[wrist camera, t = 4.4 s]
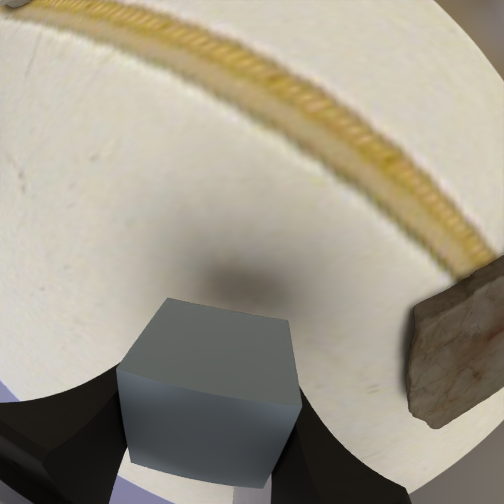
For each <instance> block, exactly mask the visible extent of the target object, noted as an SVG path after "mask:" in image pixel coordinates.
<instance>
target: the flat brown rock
mask: <svg viewBox="0 0 504 504" xmlns="http://www.w3.org/2000/svg"><path fill="white" fill-rule="evenodd" d="M414 317H415V335H414V338H413V341H412V343H411V345H410V356H409V370H408V372H407V373H406V387H407V399H408V409H409V412H410V413H412V415H413V417H415V418H418V419H421V420H424V421H425V422H426V423H427V425H429V426H430V428H432V429H440V428H441V427H443V426H444V425H446V424H448V423H449V422H451V421H452V420H454V419H456V418H457V417H459V416H460V415H462V414H463V413H465V412H467V411H468V410H470V409H471V408H473V407H474V406H476V405H477V404H479V403H480V402H482V401H484V400H486V399H487V398H489V397H490V396H491V395H493V394H494V393H496V392H498V391H499V390H500V389H501V388H503V387H504V256H502V257H500V258H498V259H497V260H495V261H494V262H492V263H491V264H489V265H487V266H485V267H483V268H481V269H479V270H478V271H475V272H474V273H473V274H472V275H471V276H470V277H469V278H467V279H465V280H464V281H462V282H461V283H458V284H456V285H454V286H453V287H451V288H449V289H447V290H446V291H444V292H441V293H439V294H437V295H435V296H433V297H431V298H429V299H426V300H424V301H422V302H421V303H419V304H417V305H416V306H415V307H414Z"/></svg>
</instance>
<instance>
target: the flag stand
mask: <svg viewBox="0 0 504 504" xmlns="http://www.w3.org/2000/svg"><path fill="white" fill-rule="evenodd" d="M29 1H31V0H0V6H2V5H4V4H6V5H8V6H10V7H13V8H16V7H20V6H22V5H24V4H26V3H28V2H29Z"/></svg>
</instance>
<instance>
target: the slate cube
mask: <svg viewBox="0 0 504 504" xmlns="http://www.w3.org/2000/svg"><path fill="white" fill-rule="evenodd" d="M116 372H117V382H118V390H119V398H120V405H121V412H122V418H123V424H124V430H125V435H126V441H127V446H128V450H129V455H130V459H131V463H134V464H138V465H141V466H144V467H147V468H151V469H154V470H158V471H161V472H165V473H169V474H173V475H177V476H181V477H185V478H190V479H195V480H200V481H205V482H211V483H217V484H223V485H230V486H238V487H247V488H258V489H263V488H264V486H265V484H266V482H267V480H268V478H269V476H270V474H271V472H272V471H273V469H274V467H275V465H276V463H277V461H278V459H279V457H280V454H281V452H282V450H283V448H284V446H285V444H286V442H287V440H288V438H289V435H290V433H291V431H292V429H293V427H294V424H295V422H296V420H297V418H298V415H299V413H300V411H301V408H302V401H301V395H300V389H299V383H298V377H297V371H296V365H295V359H294V353H293V347H292V341H291V335H290V330H289V324H288V321H287V320H280V319H274V318H268V317H262V316H257V315H251V314H245V313H240V312H234V311H229V310H224V309H219V308H214V307H209V306H204V305H199V304H194V303H189V302H185V301H180V300H175V299H171V298H167V299H166V300H165V302H164V303H163V304H162V306H161V307H160V309H159V310H158V311H157V313H156V314H155V315H154V317H153V318H152V319H151V321H150V322H149V323H148V325H147V326H146V328H145V329H144V330H143V332H142V333H141V334H140V336H139V337H138V339H137V340H136V341H135V343H134V344H133V346H132V347H131V348H130V350H129V351H128V353H127V354H126V356H125V357H124V358H123V360H122V361H121V363H120V364H119V365H118V367H117V368H116Z"/></svg>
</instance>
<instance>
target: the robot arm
mask: <svg viewBox="0 0 504 504" xmlns="http://www.w3.org/2000/svg"><path fill="white" fill-rule="evenodd" d="M120 363H121V362H120ZM120 363H119V364H120ZM119 364H117V365H115V366H114V367H112V368H111V369H109V370H107V371H106V372H104V373H103V374H101V375H99V376H97V377H95V378H94V379H92V380H90V381H88V382H86V383H84V384H82V385H80V386H77V387H75V388H72V389H70V390H67V391H64V392H61V393H58V394H55V395H51V396H48V397H44V398H39V399H34V400H28V401H21V402H9V403H0V504H109V501H110V497H111V494H112V490H113V486H114V483H115V480H116V476H117V474H118V470H119V467H120V465H121V462H122V459H123V456H124V453H125V451H126V449H127V447H128V446H127V441H126V435H125V430H124V424H123V418H122V412H121V405H120V398H119V390H118V382H117V372H116V368H117V367H118V365H119ZM299 389H300V395H301V401H302V408H301V411H300V413H299V415H298V418H297V420H296V422H295V424H294V427H293V429H292V431H291V433H290V435H289V438H288V440H287V442H286V444H285V446H284V448H283V450H282V452H281V454H280V457H279V459H278V461H277V463H276V465H275V467H274V469H273V471H272V472H271V474H270V476H269V478H268V480H267V482H266V484H265V486H264V488H263V489H258V488H247V487H238V486H234V495H233V504H411V501H410V498H409V495H408V493H407V490H406V488H405V487H403V486H401V485H399V484H397V483H395V482H393V481H391V480H389V479H387V478H385V477H383V476H382V475H380V474H378V473H377V472H375V471H374V470H372V469H371V468H369V467H368V466H366V465H365V464H364V463H362V462H361V461H360V460H359V459H357V458H356V457H355V456H354V455H353V454H351V453H350V452H349V451H348V450H347V449H346V448H345V447H344V446H343V445H342V444H341V443H340V442H339V441H338V440H337V439H336V438H335V437H334V436H333V434H332V433H331V432H330V431H329V430H328V428H327V427H326V426H325V425H324V423H323V422H322V421H321V419H320V418H319V416H318V415H317V414H316V412H315V411H314V409H313V408H312V406H311V405H310V403H309V401H308V400H307V398H306V396H305V395H304V393H303V391H302V390H301V388H300V386H299Z"/></svg>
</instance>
